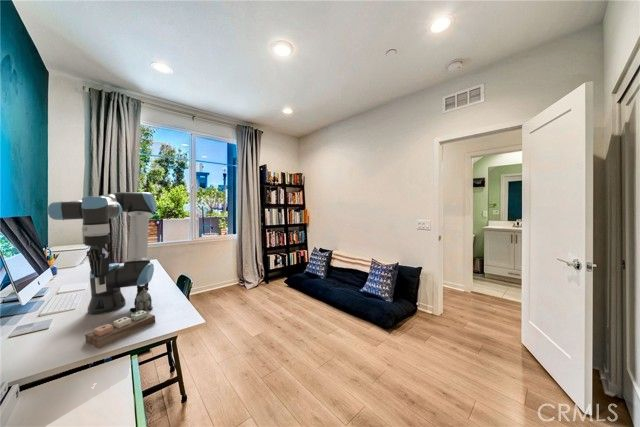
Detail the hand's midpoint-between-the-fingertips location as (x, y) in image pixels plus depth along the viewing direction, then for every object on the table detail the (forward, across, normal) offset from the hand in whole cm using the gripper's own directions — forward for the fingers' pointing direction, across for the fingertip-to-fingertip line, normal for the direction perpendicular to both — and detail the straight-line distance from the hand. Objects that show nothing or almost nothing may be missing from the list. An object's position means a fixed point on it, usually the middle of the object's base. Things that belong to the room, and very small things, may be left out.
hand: (101, 291), depth 95 cm
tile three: (+20, 0, +13) cm, 24 cm away
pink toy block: (+20, 0, 0) cm, 20 cm away
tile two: (+20, 0, +6) cm, 21 cm away
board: (+20, 0, +6) cm, 21 cm away
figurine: (+21, -14, +21) cm, 33 cm away
